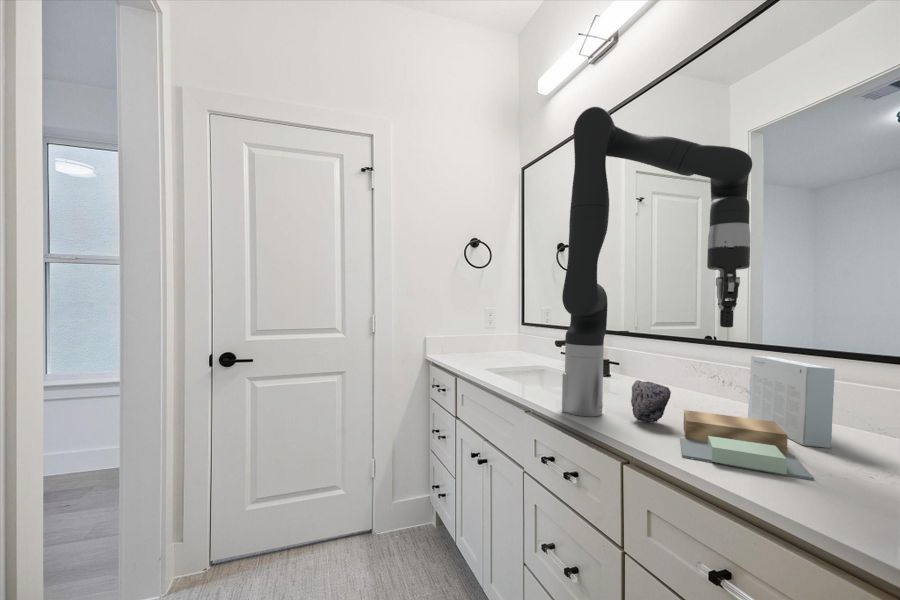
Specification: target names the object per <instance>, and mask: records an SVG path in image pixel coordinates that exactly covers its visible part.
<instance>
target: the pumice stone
mask: <svg viewBox="0 0 900 600" xmlns="http://www.w3.org/2000/svg"><path fill="white" fill-rule="evenodd" d="M671 394H672V391H671V389H670V388H669V387H668V386H665V385H663V384H659V383H655V382H653V381H648V380H647V381H642V380H635V381H634V383H633V384H632V386H631V399H630V404H631V407H632V409H631V410H632V415H633V418H635V419H636V420H637V421H640V422H643V423H645V424H651V423H655V422H656V423H658V421H659V420H660V419H661V418H662V417H663V416H664V413H665V409H666V407H667V405H668V402H669V401H670V398H671Z"/></svg>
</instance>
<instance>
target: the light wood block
mask: <svg viewBox="0 0 900 600" xmlns="http://www.w3.org/2000/svg"><path fill="white" fill-rule="evenodd" d="M683 432H684V438H685V439H691V440H698V441H704V442H708V436H713V437H720V438H726V439H733V440H740V441H747V442H753V443H760V444H767V445H774V446H776V447H777V448H778V449H779V450H780V452H781V453H782V454H787V455H788V438H787V434H786V433H785V432H784V431H783V430H782V429H781V428H780V427H779V426H778V425H777V424H776V423H775V422H774V421H767V420H759V419H751V418H748V417H743V416H742V417H741V416H734V415H726V414H718V413H711V412H702V411H695V410H694V411H693V410H688V409H687V410H686V409H683Z"/></svg>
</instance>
